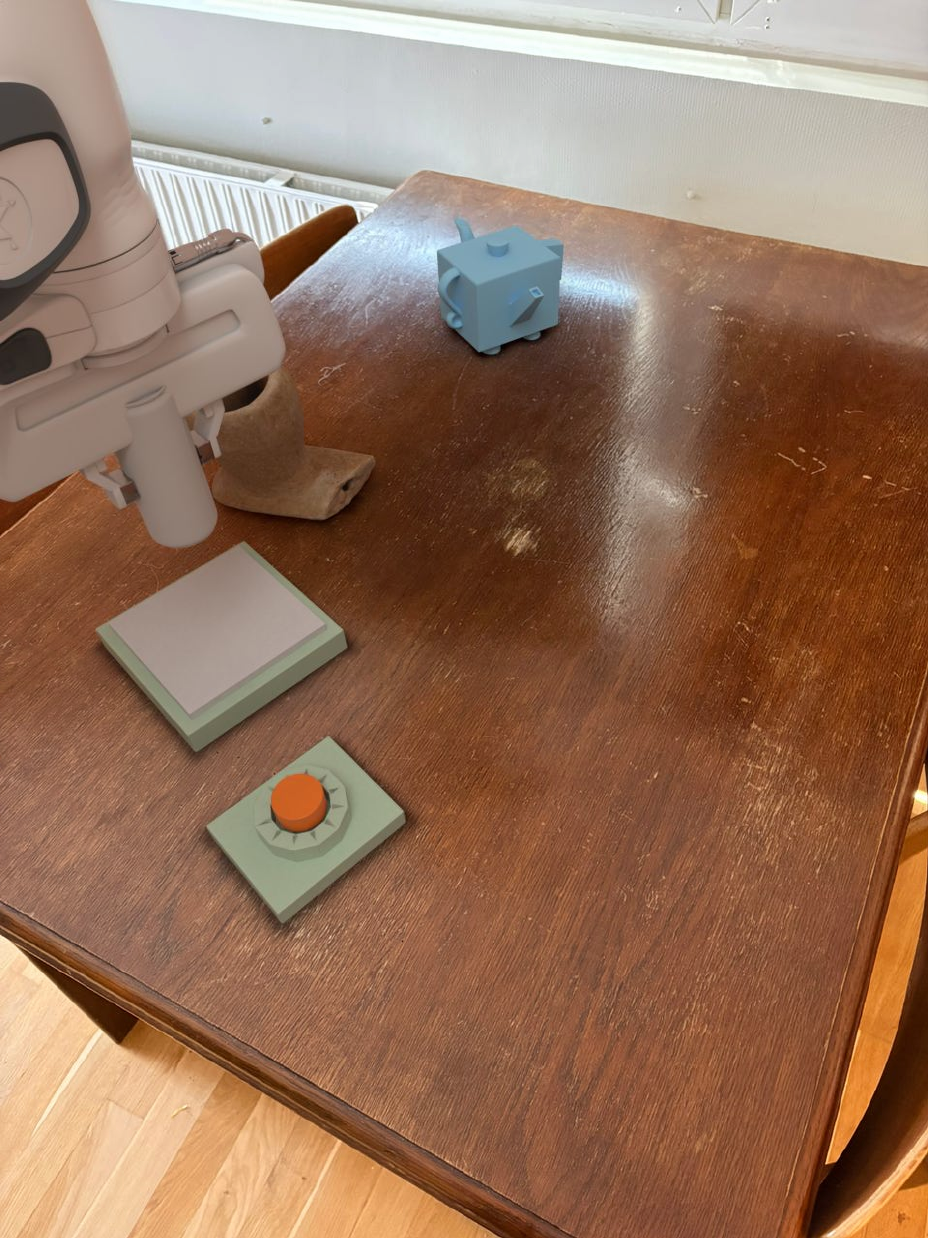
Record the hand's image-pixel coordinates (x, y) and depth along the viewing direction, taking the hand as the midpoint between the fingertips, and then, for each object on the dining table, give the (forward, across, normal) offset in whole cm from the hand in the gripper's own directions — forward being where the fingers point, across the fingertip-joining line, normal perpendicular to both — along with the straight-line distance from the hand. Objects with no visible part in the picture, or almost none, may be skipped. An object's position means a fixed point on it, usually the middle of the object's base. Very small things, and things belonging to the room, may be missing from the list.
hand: (166, 478), depth 59 cm
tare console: (+21, +4, +16) cm, 27 cm away
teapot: (+21, -52, -22) cm, 60 cm away
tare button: (+18, +4, +16) cm, 24 cm away
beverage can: (+5, 0, 0) cm, 5 cm away
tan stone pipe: (+21, -16, -15) cm, 30 cm away
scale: (+21, 0, -3) cm, 21 cm away
